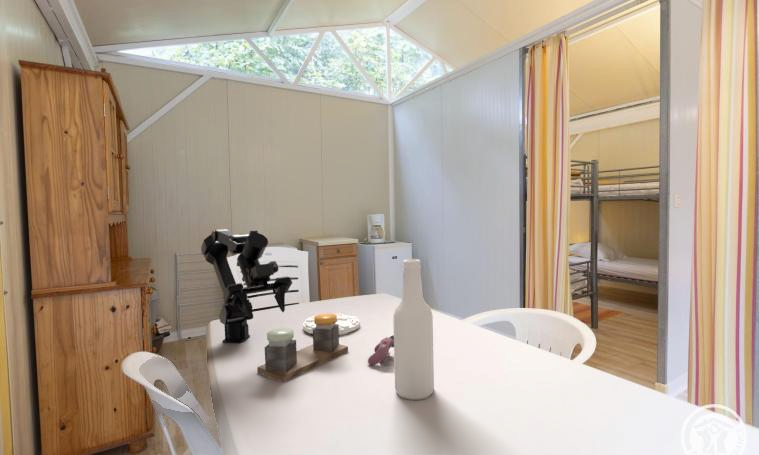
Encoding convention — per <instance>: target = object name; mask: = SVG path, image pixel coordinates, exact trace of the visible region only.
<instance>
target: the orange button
mask: <svg viewBox="0 0 759 455" xmlns="http://www.w3.org/2000/svg"><path fill="white" fill-rule="evenodd" d="M337 315H338V314H335V313H334V314H333V313H321V314H317V315H314V316H315V317H314V323H315V324H316V329H321V330H332V329H333V328H334V327H335V323H336V322H337Z"/></svg>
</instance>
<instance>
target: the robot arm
mask: <svg viewBox="0 0 759 455" xmlns="http://www.w3.org/2000/svg"><path fill="white" fill-rule="evenodd" d="M268 244H269V240H268V238H267V237H266V236H265V235H264V234H262V233H259V232H258V230H257V229H256V230H250V231H249V233H248V234H238V233H235V232H233V231H230V230H229V229H227V228H221V229H217V228H216V229H213V230H212V231H211V233H210V235H208V236H207V237H205V239H203V242H202V244H201V247H200V248H201V250H200V251H201V255H203V257H204V260H205V261H206V262H208V263H209V264H210V265H212V266H213V269H214V271H215V274H216V277H217V279H218V283H219V286H220V287H221V288H220V289H221V290H222V294H223V296H222V297H223V303H222V308H221V310H220V314H219V322H220V323H222V324H223V325H224V339H222V340H221V341H222V343H237V344H239V343H240V344H241V343H243V342H244V341H246V339H248V338H250V337H251V335H250V333H249V324H248V320H252V319H253V318H254V314H253V305H252V302H251V300H250V298H249V294H250V295H251V294H257V293H263V292H269V291H272V293H273V294H274V299H275V301H276V303H277V305H278V308H279V309H280V311H281V312H282V313H284V312H285V311H286V306H285V304H286V303H285V302H286V301H285V299H286V296H285V295H286V294H287V292H289V289H290V287H291V286H292V284H293V281H292V278H291V277H290V276H288V275H287V276H279V277H276V279H275V281H274V282H272V283H271V282H270V280H271V276H274V274H276V273H277V272H279V265H278V263H277V261H276V260H275V261H274V260H273V261H269V262H267V263H264V264H263V263H262V264H261V263H260V259H261V258H262V257H263V255H264V252H265V250H266V248H267V246H268ZM229 252H230V254H231V255H238V256H237V257H236V261H237V262H236V267H238V268H239V269H240V273H241V276H242V277H241V280H242V282H244V283H245V285H246V286H245V287H244V285H243V283H241V282H239V283H237V282H236V280H235V277H234V274H233V272H232V269H231V267H230V264H229V262H228V258H227V256H229V255H228V254H229ZM268 282H270V283H268Z"/></svg>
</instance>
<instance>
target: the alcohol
mask: <svg viewBox="0 0 759 455" xmlns="http://www.w3.org/2000/svg"><path fill="white" fill-rule="evenodd" d="M421 262H422V261H421V260H420V259H417V258H405V259H404V260H403V261H402V263H403V265H402V268H403V271H402V272H403V273H402V292H401V300H400V301H399V302H398V304H397V305H396V307H395V308H394V311H393V312H394V313H393V322H392V323H393V335H394V347H393V353H394V354H393V356H394V357H393V358H394V363H393V364H394V389H395V391H396V394H398V396H400V397H401V398H403V399H406V400H409V401H420V400H422V401H423V400H425V399H428V398H429V397H431V396H432V394H433V392H434V390H435V375H434V374H435V372H434V371H435V370H434V369H435V368H434V362H435V361H434V318H433V312H432V309H431V307H430V305H429V304H428V303H427V302H426V301H425V298H424V294H423V282H422V273H421V271H422V270H421V268H422V266H421Z"/></svg>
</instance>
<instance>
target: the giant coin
mask: <svg viewBox="0 0 759 455" xmlns="http://www.w3.org/2000/svg"><path fill="white" fill-rule="evenodd" d="M336 315H337V322H336V323H335V324H338V326H339V336H341V335H342V336H343V335H347V334H348V333H350V332H351V333H352V332H353V331H355V330H357V329H359V328H360V325H361V324H360V319H359V318H358V317H357V316H355V315H354V316H353V315H347V314H343V313H341V312H340V313H337V314H336ZM315 316H316V315H313V316H310V317H307V318H306V320H305V321H304V322H303V323H302V329H303V331H304V332H306V333H308V334H312V335H313V329H314V328H315V327H316V324H315V323H314V317H315Z"/></svg>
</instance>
